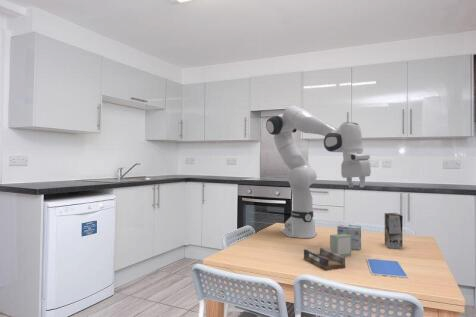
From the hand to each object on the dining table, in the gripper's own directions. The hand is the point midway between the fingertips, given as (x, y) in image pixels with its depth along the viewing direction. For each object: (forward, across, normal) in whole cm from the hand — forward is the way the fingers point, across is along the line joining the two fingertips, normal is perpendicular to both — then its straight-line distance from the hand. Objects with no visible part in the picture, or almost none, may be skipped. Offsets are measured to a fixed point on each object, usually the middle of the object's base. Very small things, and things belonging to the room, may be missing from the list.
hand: (356, 187), depth 147 cm
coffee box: (+32, -13, +24) cm, 42 cm away
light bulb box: (+30, -15, +1) cm, 33 cm away
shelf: (+30, +8, -22) cm, 38 cm away
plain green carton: (+30, -2, -10) cm, 31 cm away
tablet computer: (+33, +17, 0) cm, 37 cm away
